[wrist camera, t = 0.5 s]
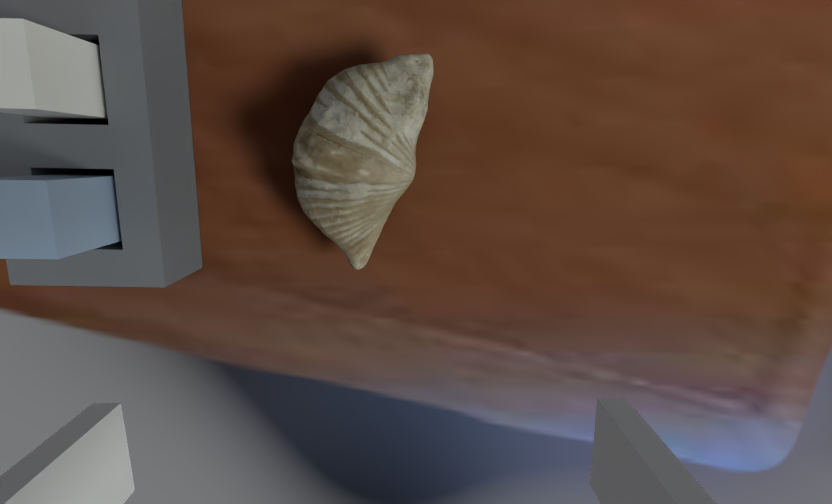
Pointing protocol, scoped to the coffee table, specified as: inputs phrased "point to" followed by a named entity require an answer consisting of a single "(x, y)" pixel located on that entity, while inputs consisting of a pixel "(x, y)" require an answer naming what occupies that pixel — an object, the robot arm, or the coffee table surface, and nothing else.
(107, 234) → the blue key
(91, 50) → the white key
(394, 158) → the seashell
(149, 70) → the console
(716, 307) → the coffee table surface
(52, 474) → the robot arm
